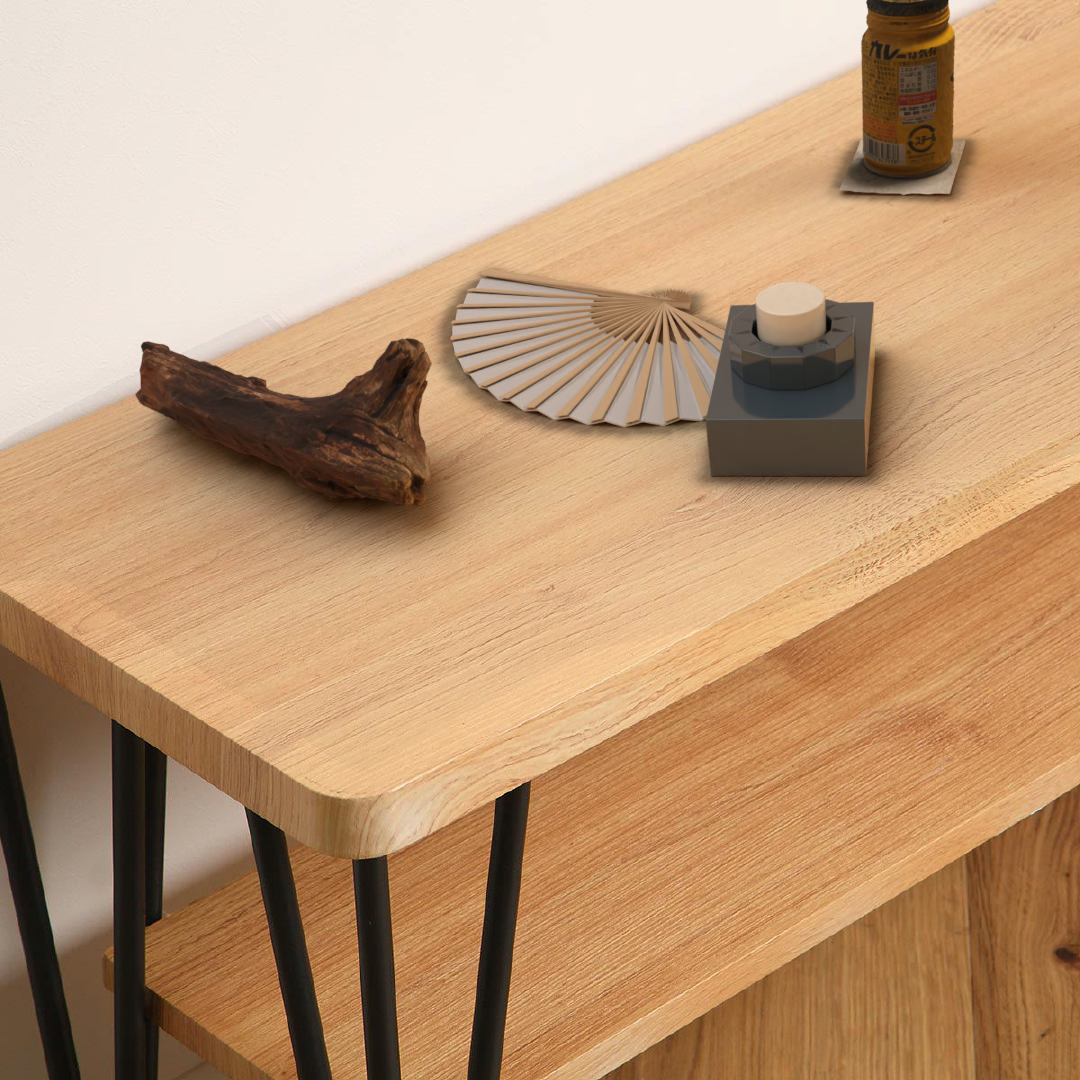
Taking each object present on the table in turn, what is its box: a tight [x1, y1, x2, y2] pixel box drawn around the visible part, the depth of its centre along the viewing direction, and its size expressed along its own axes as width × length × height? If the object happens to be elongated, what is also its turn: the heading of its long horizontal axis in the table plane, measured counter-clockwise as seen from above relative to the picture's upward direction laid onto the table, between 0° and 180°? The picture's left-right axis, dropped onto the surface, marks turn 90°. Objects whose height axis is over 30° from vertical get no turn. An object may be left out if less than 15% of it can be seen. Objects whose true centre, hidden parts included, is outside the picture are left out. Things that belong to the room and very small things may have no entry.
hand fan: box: [450, 268, 725, 428], centre depth 97 cm, size 26×1×15 cm
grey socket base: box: [705, 298, 876, 477], centre depth 87 cm, size 8×12×6 cm, turn 168°
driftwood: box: [134, 337, 432, 508], centre depth 89 cm, size 23×8×8 cm, turn 57°
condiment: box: [839, 0, 966, 196], centre depth 108 cm, size 7×8×12 cm
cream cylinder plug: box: [754, 281, 826, 346], centre depth 85 cm, size 4×4×2 cm
